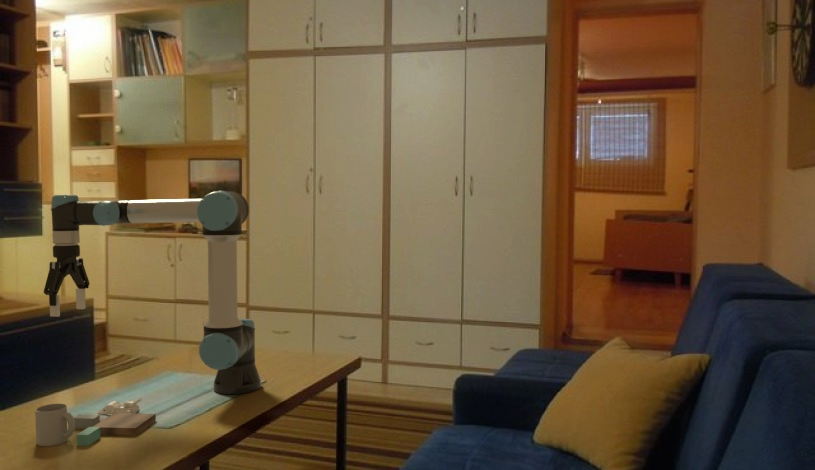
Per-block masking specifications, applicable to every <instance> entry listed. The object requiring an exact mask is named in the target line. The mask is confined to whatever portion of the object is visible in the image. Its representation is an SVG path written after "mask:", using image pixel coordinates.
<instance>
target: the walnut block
mask: <svg viewBox="0 0 815 470" xmlns="http://www.w3.org/2000/svg"><path fill="white" fill-rule="evenodd" d="M156 417H157V415H156V413H138V412H136V413H114V414H112V415H108V416H107V417H106V418H104V419H103V420H100V422H99V423H98V424H96V425H94V426H93V427H100V436H101V435H103V436H131V437H132V436H133V437H134V436H137V435H138V434H140V433H142V431H144V430H145V429H147V428H148V427H150V426H151V425H152V424H154V423H155V422H156V421H155V420H157V419H156ZM154 421H155V422H154ZM153 422H154V423H153ZM151 423H152V424H151ZM150 424H151V425H150Z"/></svg>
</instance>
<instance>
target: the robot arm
mask: <svg viewBox="0 0 815 470" xmlns="http://www.w3.org/2000/svg"><path fill="white" fill-rule="evenodd" d="M50 211H51V224H52V243H53V245H52V257H53V258H54V259H55V258H56V261H50V262H49V267H48V268H49V269H48V270H49V271H48V273H47V274H48V275H47V277H46V281H45V284H44V289H43V294H44V295H46V296H48V297H49V299H48V300H49V301H48V302H49V303H48V304H49V317H57V318H58V317H60V316H61V307H60V306H61V305H60V301H61V297H60V294H59V290H60V289H61V286H62V284H63V282H64V279H65V277H67V276H69V275H70V277H71V280H72V281H73V282H74V284H75V286H76V287H77V288H75V306H76V307H75V308H76V310H86V307H87V306H86V289H89V288H90V280H89V277H88V275H87V272H86V269H85V265H84V259H83V258H82V257H81V258H80V255H81V245H80V244H79V243H80V242H81V241H80V240H81V239H80V238H81V237H80V226H102V227H104V226H113V225H119V224H121V225H122V224H124V225H125V224H159V223H160V224H161V223H165V224H166V223H200V224H201V226H202V237H203V238H204V239H205V240H206V241H207V279H208V280H207V284H208V285H207V289H208V291H207V294H208V298H207V299H208V319H207V320H206V321H205V322H204V323H203V338H202V339H201V341H200V343H199V347H198V354H199V359H200V360H201V361H202V363H204V365H206V366H207V367H208V368H210V369H213V370H216V375H215V378H214V380H213V391H214V392H216V393H218V394H222V395H242V394H248V393H252V392H256V391H257V390H259V389H261V387H262V381H261V377H260V375H259V372H258V368H257V366H256V365H257V364H256V342H255V341H256V340H255V339H256V338H255V337H256V335H255V333H256V332H255V331H256V328H255V322H254V320H253V319H251V318H239V317H238V243H237V242H238V240H239V238H240V237H242V233H243V232H242V231H243V230H242V229H243V228H242V225H243V224H244V223H245V222H246V221H247V219H248V217H249V214H250V205H249V203H248V201H247V199H246V197H245V196H244V195H242V194H240V193H238V192H237V191H234V190H233V191H228V190H214V191H212V192H210V193H207V194H206V195H204V196H203V197H202V198H176V199H175V198H171V199H169V198H168V199H167V198H166V199H165V198H164V199H133V200H121V199H119V200H85V201H84V200H80V199H79V196H78V195H77V194H54V195H52V197H51V208H50Z"/></svg>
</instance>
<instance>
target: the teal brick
mask: <svg viewBox="0 0 815 470" xmlns="http://www.w3.org/2000/svg"><path fill="white" fill-rule="evenodd" d="M100 437H101V435H100V427H88V428H87V429H84V430H82V431H80V432H78V433H76V446H80V447H82V446H83V447H86V446H87V447H88V446H91V445H92V444H93V443H95V442H96V441H98V440H99V439H100Z"/></svg>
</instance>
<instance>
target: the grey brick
mask: <svg viewBox="0 0 815 470" xmlns="http://www.w3.org/2000/svg"><path fill="white" fill-rule="evenodd" d="M100 417H101V415H97V414H77V415H75V416H73V418H74V420H75V429H84V430H85V429H87V428H88V427H93V426H94V425H96V424H98V423H99V422H101V418H100Z"/></svg>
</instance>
